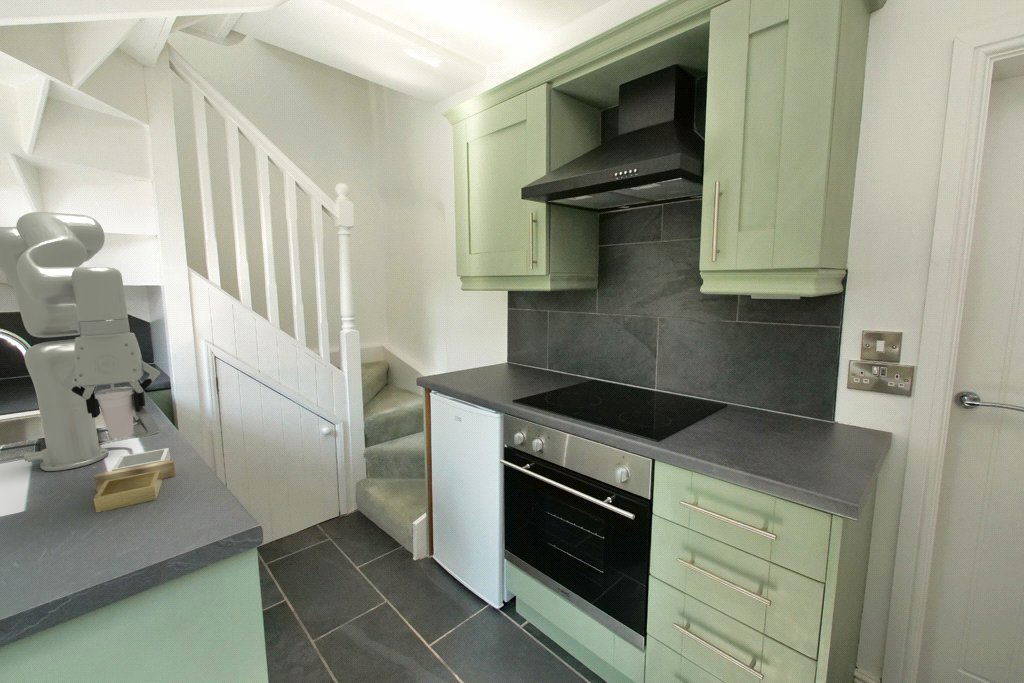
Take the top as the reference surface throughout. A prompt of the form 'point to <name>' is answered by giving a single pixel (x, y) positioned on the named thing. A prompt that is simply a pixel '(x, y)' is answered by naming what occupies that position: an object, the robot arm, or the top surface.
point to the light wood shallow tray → (128, 491)
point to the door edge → (137, 472)
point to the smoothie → (117, 410)
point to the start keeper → (142, 459)
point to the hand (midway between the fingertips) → (118, 412)
